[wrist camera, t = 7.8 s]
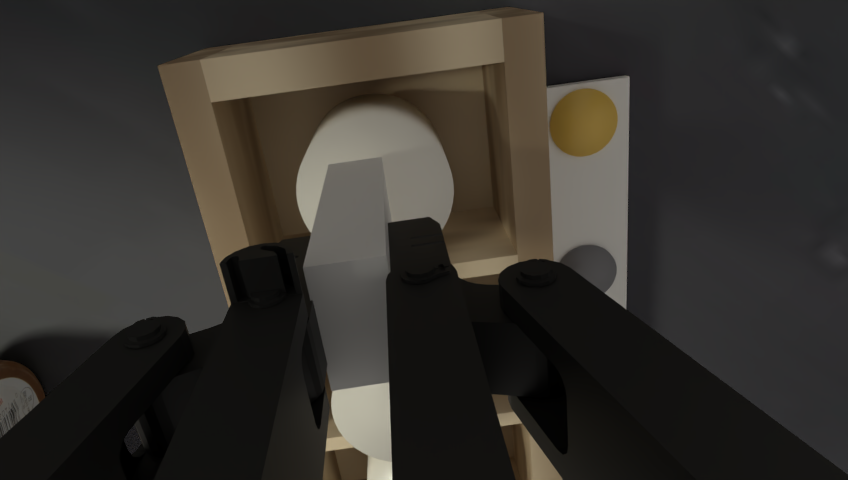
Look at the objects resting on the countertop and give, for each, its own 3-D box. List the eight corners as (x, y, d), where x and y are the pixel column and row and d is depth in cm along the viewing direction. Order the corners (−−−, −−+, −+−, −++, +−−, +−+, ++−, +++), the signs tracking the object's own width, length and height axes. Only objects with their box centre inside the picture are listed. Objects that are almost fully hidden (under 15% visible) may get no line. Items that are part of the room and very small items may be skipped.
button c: (324, 229, 23) (313, 274, 19) (297, 103, 21) (280, 127, 17) (448, 212, 23) (461, 253, 19) (434, 84, 21) (444, 104, 17)
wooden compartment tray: (323, 498, 30) (312, 590, 26) (205, 48, 21) (157, 65, 17) (537, 467, 30) (565, 554, 26) (509, 6, 21) (543, 12, 17)
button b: (351, 399, 23) (345, 471, 20) (328, 293, 21) (317, 352, 18) (471, 382, 23) (487, 451, 20) (459, 274, 22) (474, 330, 18)
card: (549, 419, 29) (552, 426, 28) (532, 88, 23) (535, 90, 22) (621, 408, 29) (626, 416, 29) (625, 75, 23) (631, 77, 22)
